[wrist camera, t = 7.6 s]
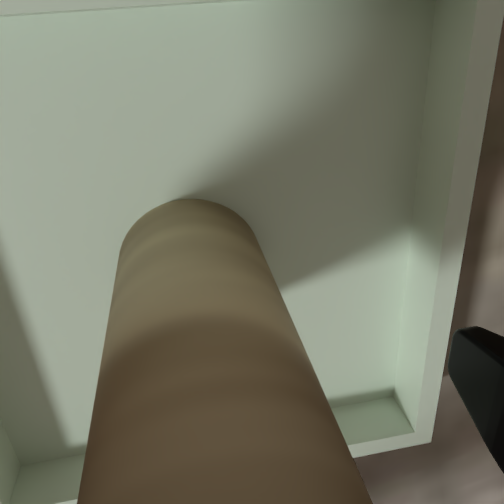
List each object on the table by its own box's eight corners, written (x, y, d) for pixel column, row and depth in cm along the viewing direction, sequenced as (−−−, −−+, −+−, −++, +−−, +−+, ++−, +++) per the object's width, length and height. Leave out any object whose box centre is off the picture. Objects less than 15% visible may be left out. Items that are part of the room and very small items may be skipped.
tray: (400, 393, 16) (430, 442, 14) (11, 465, 14) (-10, 531, 13) (451, -44, 10) (516, -58, 8) (-203, -7, 8) (-303, -13, 7)
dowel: (263, 312, 13) (489, 951, 4) (132, 333, 12) (67, 1104, 4) (256, 190, 11) (613, 825, 2) (104, 208, 11) (-144, 1079, 2)
